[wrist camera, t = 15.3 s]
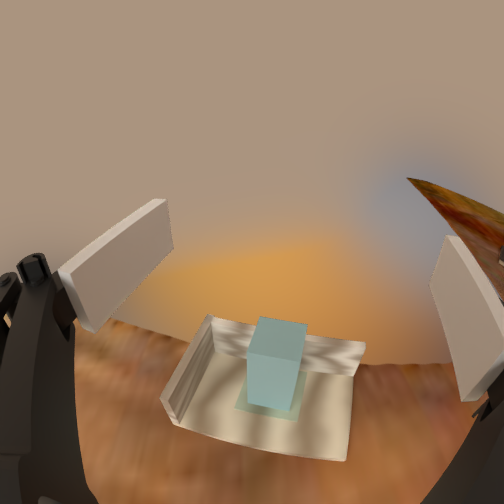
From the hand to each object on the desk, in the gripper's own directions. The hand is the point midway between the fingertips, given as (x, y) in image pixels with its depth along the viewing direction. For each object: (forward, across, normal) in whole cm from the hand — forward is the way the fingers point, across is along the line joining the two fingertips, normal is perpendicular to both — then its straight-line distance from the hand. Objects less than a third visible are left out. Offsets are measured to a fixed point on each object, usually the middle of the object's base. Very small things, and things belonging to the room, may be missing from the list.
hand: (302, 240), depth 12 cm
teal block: (+11, -2, -31) cm, 33 cm away
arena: (+10, -2, -32) cm, 34 cm away
